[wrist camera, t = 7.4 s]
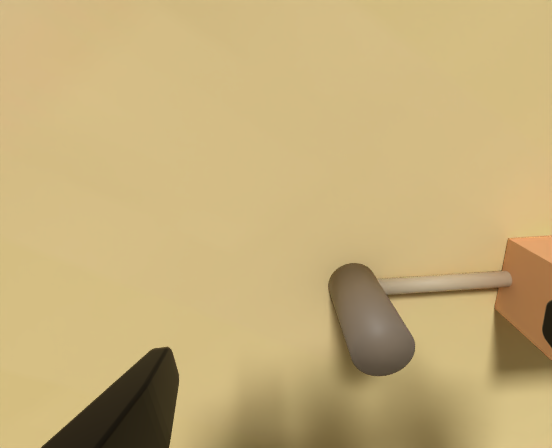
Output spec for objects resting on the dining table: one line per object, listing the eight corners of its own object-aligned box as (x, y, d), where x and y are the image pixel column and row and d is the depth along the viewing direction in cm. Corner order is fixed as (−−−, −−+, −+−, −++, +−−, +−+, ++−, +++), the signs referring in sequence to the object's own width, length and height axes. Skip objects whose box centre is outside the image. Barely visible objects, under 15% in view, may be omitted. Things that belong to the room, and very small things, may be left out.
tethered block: (589, 233, 21) (711, 283, 15) (569, 303, 22) (671, 372, 17) (328, 250, 20) (352, 307, 15) (328, 319, 22) (349, 393, 17)
